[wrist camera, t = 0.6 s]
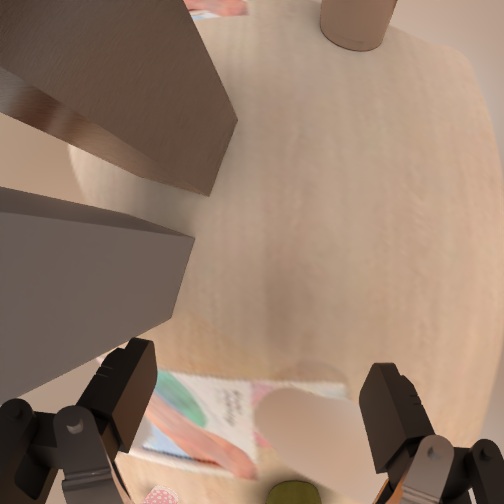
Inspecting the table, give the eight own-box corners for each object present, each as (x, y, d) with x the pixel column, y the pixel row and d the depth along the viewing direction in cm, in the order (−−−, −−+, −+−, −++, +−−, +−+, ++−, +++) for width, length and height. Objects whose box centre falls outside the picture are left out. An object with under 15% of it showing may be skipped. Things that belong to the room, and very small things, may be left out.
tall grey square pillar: (125, 213, 35) (-133, 160, 3) (195, 238, 34) (-137, 195, 2) (105, 287, 35) (-136, 329, 3) (170, 318, 34) (-94, 448, 2)
